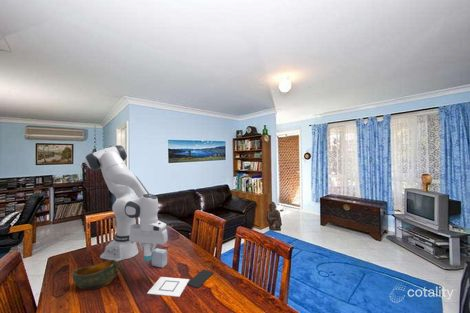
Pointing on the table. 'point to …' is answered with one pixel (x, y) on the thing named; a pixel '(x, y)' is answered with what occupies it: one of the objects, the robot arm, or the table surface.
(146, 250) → the marker
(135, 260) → the table surface
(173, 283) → the paper
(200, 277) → the phone
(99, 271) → the green oval bowl
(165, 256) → the medicine box
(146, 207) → the robot arm
